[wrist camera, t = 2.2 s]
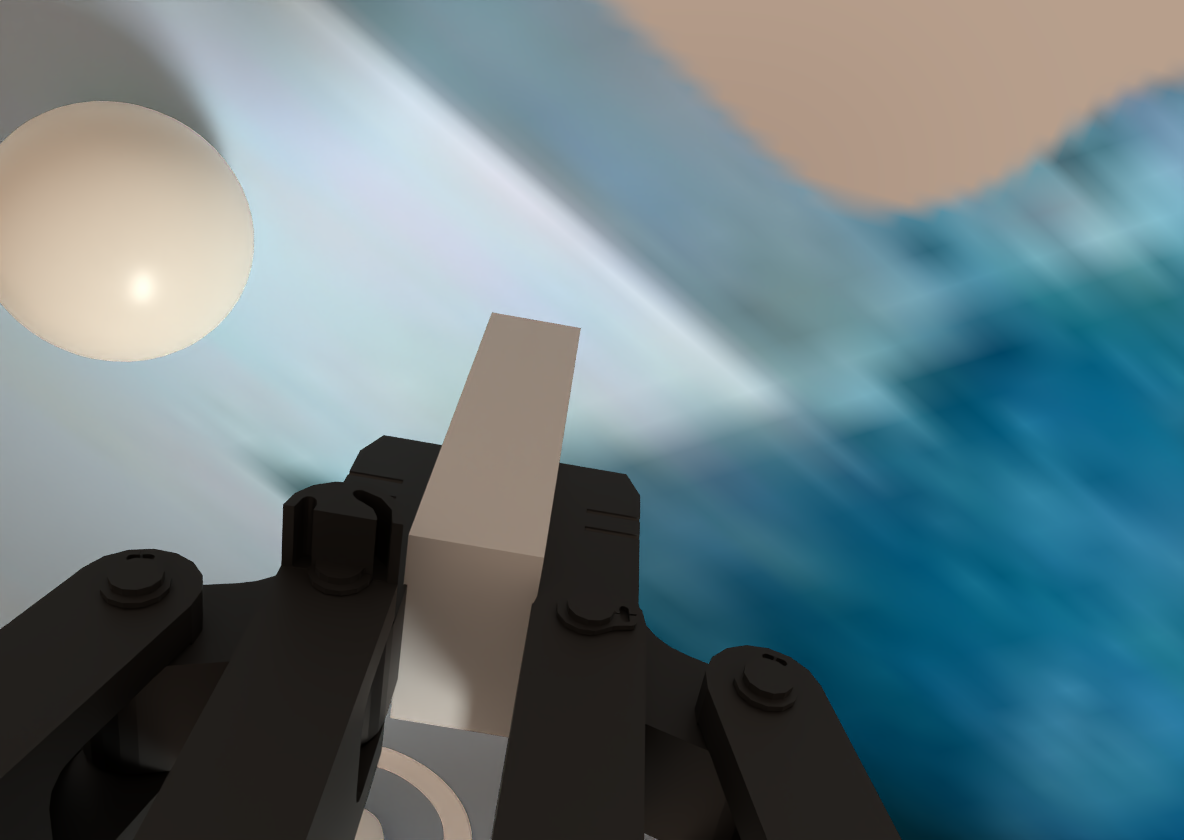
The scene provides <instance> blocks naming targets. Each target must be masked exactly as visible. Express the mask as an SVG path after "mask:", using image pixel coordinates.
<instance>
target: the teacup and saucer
mask: <svg viewBox="0 0 1184 840" xmlns="http://www.w3.org/2000/svg"><path fill="white" fill-rule="evenodd" d="M377 767H379V768H382V769H384V770H387V771H389V772H392V773H394V774H396V775H398V776H400V777H401V778H403V779H405V780H406V781H408V782H409V783H411V784H412V785H414V786H415V787H416V788H417V789H419V790H420V791H421V792H422V793H423V794H424V795H425V796H426V797H427V798H428V799H429V801H430V802H431V803H432V804H433V806H434V807H435V809H436V811H437V813H438V815H439V817H440V819H441V822H442V826H443V831H444V840H472V832H471V826H470V822H469V819H468V816H467V813H466V811H465V809H464V807H463V805H462V803H461V802H460V800H459V798H458V797H457V796H456V794H455V793H454V792H453V790H452V789H451V788H450V787H449V786H448V785H447V784H446V783H445V782H444V781H443V780H442V779H441V778H440V777H439V776H438V775H436V774H435V773H434V772H433V771H431V770H430V769H428V768H427V767H426V766H424V765H422V764H421V763H419V762H418V761H416V760H414V759H412V758H410V757H408V756H406V755H404V754H402V753H399V752H397V751H394V750H392V749H389V748H386V747H383V746H382V751H381V755H380V758H379V762H378V765H377ZM354 840H384V835H383V830H382V826H381V824H380V822H379V820H378V819H377V818H376V817H375V816H374V815H373V814H372V813H371V812H369V811H368V810H366V809H364V810H363V813H362V817H361V820H360V823H359V826H358V830H357V833H356V836H355V839H354Z"/></svg>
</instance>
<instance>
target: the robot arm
mask: <svg viewBox="0 0 1184 840" xmlns="http://www.w3.org/2000/svg"><path fill="white" fill-rule="evenodd" d="M580 329H581V328H577V327H571V326H565V325H560V324H554V323H548V322H543V321H537V320H531V319H526V318H520V317H514V316H509V315H503V314H497V313H492V314H491V317H490V319H489V322H488V325H487V327H486V330H485V333H484V335H483V338H482V341H481V343H480V346H479V349H478V351H477V354H476V357H475V359H474V362H473V365H472V367H471V370H470V373H469V375H468V378H467V381H466V383H465V386H464V389H463V391H462V394H461V397H460V399H459V402H458V405H457V407H456V410H455V412H454V415H453V418H452V420H451V423H450V426H449V428H448V431H447V434H446V436H445V439H444V442H443V444H442V445H438V444H432V443H426V442H420V441H414V440H409V439H403V438H397V437H391V436H385V435H383V436H382V437H380V438H379V439H377V440H376V441H374V442H373V443H371V444H370V445H368V446H366V447H365V448H363V449H362V450H360V452H359V454H358V456H357V458H356V460H355V462H354V464H353V466H352V467H351V469H350V473H349V475H347V477H346V479H345V481H344V482H331V483H325V484H318V485H313V486H310V487H308V488H306V489H303V490H301V491H299V492H296V493H295V494H294V495H293V496H291V497H290V498H289V499H288V500H287V501H286V502H285V503H284V504H283V529H282V563H281V567H280V569H279V571H278V573H277V575H276V576H273V577H270V578H266V579H262V580H259V581H253V582H244V583H233V584H213V585H203V576H202V574H201V572H200V571H199V570H198V568H197V567H196V565H195V564H194V563H193V562H192V561H190V560H188V559H186V558H184V557H182V556H181V555H179V554H177V553H172V552H167V551H162V550H157V549H139V550H126V551H122V552H118V553H115V554H111V555H107V556H103V557H102V558H100V559H98V560H96V561H94V562H92V563H90V564H89V565H87V566H85V567H83V568H82V569H80V570H79V571H78V572H76V573H75V574H74V575H72V576H71V577H70V578H68V579H67V580H66V581H64V582H63V583H62V584H60V585H59V586H58V587H56V588H55V589H54V590H52V591H51V592H50V593H48V594H47V595H46V596H44V597H43V598H42V599H40V600H39V601H38V602H36V603H35V604H34V605H32V606H31V607H30V608H28V609H27V610H26V611H24V612H23V613H22V614H20V615H19V616H18V617H16V618H15V619H14V620H12V621H11V622H10V623H8V624H7V625H6V626H4V627H3V628H1V629H0V840H354V839H355V836H356V833H357V830H358V826H359V823H360V820H361V817H362V813H363V810H364V807H365V804H366V800H367V797H368V794H369V791H370V788H371V784H372V781H373V778H374V775H375V771H376V768H377V765H378V762H379V758H380V755H381V751H382V741H383V731H384V721H385V718H386V715H387V711H388V708H389V705H390V702H391V699H392V705H391V715H390V718H393V719H399V720H405V721H411V722H417V723H424V724H430V725H436V726H442V727H448V728H454V729H460V730H467V731H473V732H479V733H485V734H491V735H497V736H503V737H509V738H508V744H507V750H506V755H505V761H504V767H503V772H502V778H501V783H500V789H499V795H498V800H497V806H496V812H495V819H494V825H493V831H492V836H491V840H644V833H645V834H648V835H650V836H652V837H654V838H656V839H658V840H902V839H901V838H900V836H899V834H898V832H897V830H896V828H895V826H894V824H893V822H892V820H891V818H890V817H889V815H888V813H887V811H886V809H885V807H884V805H883V803H882V801H881V799H880V798H879V796H878V794H877V792H876V790H875V788H874V786H873V784H872V782H871V780H870V778H869V777H868V775H867V773H866V771H865V769H864V767H863V765H862V763H861V761H860V759H859V757H858V756H857V754H856V752H855V750H854V748H853V746H852V744H851V742H850V740H849V738H848V737H847V735H846V733H845V731H844V729H843V727H842V725H841V723H840V721H839V719H838V717H837V716H836V714H835V712H834V710H833V708H832V706H831V704H830V702H829V700H828V698H827V696H826V695H825V693H824V691H823V689H822V687H821V686H820V684H819V683H818V682H817V680H816V679H815V678H814V677H813V675H812V674H811V673H810V671H809V670H807V669H806V668H805V667H803V666H802V665H800V664H799V663H798V662H796V661H795V660H793V659H792V658H791V657H789V656H786V655H784V654H781V653H779V652H776V651H774V650H771V649H769V648H762V647H755V646H748V645H745V646H739V647H732V648H726V649H725V650H723V651H722V652H720V653H718V654H717V655H715V656H713V657H712V659H711V661H710V663H709V664H707V663H705V662H702V661H700V660H697V659H695V658H692V657H690V656H687V655H685V654H683V653H681V652H679V651H677V650H675V649H673V648H671V647H669V646H668V645H667V644H665V643H664V642H663V641H661V640H660V639H659V638H657V637H656V636H655V635H654V634H653V633H652V631H651V630H650V629H649V628H648V627H647V626H646V623H645V620H644V616H643V612H642V610H641V609H640V608H639V604H638V596H639V535H640V522H639V519H640V495H639V493H638V492H637V490H636V489H635V487H634V486H633V484H632V482H631V481H630V479H629V478H628V476H627V475H626V474H621V473H615V472H609V471H604V470H598V469H592V468H586V467H580V466H574V465H569V464H563V463H559V461H560V454H561V448H562V442H563V436H564V429H565V423H566V417H567V411H568V404H569V398H570V392H571V385H572V379H573V373H574V367H575V360H576V354H577V348H578V342H579V335H580Z"/></svg>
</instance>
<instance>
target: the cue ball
mask: <svg viewBox="0 0 1184 840" xmlns="http://www.w3.org/2000/svg"><path fill="white" fill-rule="evenodd" d="M253 254H254V228H253V221H252V215H251V212H250V208H249V204H248V201H247V199H246V196H245V194H244V191H243V189H242V187H241V185H240V183H239V181H238V179H237V177H236V176H235V174H234V172H233V171H232V169H231V168H230V167H229V165H228V164H227V162H226V161H225V160H224V158H223V157H222V156H221V155H220V154H219V153H218V152H217V150H216V149H215V148H214V147H213V146H212V145H211V144H209V143H208V142H207V141H206V140H205V139H204V138H203V137H202V136H200V135H199V134H198V133H196V132H195V131H194V130H192V129H191V128H190V127H188V126H186V125H185V124H183V123H181V122H179V121H178V120H176V119H174V118H172V117H170V116H167V115H165V114H163V113H160V112H158V111H155V110H153V109H149V108H146V107H143V106H139V105H135V104H129V103H123V102H113V101H89V102H81V103H75V104H69V105H65V106H62V107H58V108H55V109H52V110H50V111H47V112H45V113H43V114H41V115H39V116H37V117H34V118H32V119H30V120H29V121H27V122H26V123H24V124H23V125H21V126H20V127H18V128H17V129H16V130H15V131H14V132H12V133H11V134H10V135H9V136H8V137H7V138H6V139H5V140H4V141H3V142H2V143H1V144H0V303H1V304H2V305H3V306H4V308H5V309H6V310H7V311H8V312H9V313H10V314H11V315H12V316H13V317H14V318H15V319H16V320H17V321H18V322H19V323H20V324H22V325H23V326H24V327H25V328H27V329H28V330H29V331H30V332H32V333H33V334H35V335H37V336H38V337H40V338H41V339H43V340H45V341H47V342H48V343H50V344H52V345H54V346H56V347H59V348H61V349H63V350H66V351H69V352H71V353H74V354H77V355H80V356H84V357H88V358H92V359H99V360H105V361H119V362H131V361H142V360H149V359H154V358H158V357H163V356H166V355H169V354H172V353H174V352H177V351H179V350H182V349H184V348H187V347H188V346H190V345H192V344H194V343H196V342H197V341H199V340H200V339H202V338H203V337H205V336H206V335H207V334H209V333H210V332H211V331H212V330H214V329H215V328H216V327H217V326H218V325H219V324H220V323H221V322H222V321H223V320H224V319H225V318H226V317H227V315H228V314H229V313H230V312H231V310H232V309H233V307H234V306H235V304H236V303H237V301H238V300H239V298H240V296H241V294H242V292H243V290H244V288H245V285H246V283H247V281H248V278H249V274H250V271H251V267H252V261H253Z"/></svg>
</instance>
